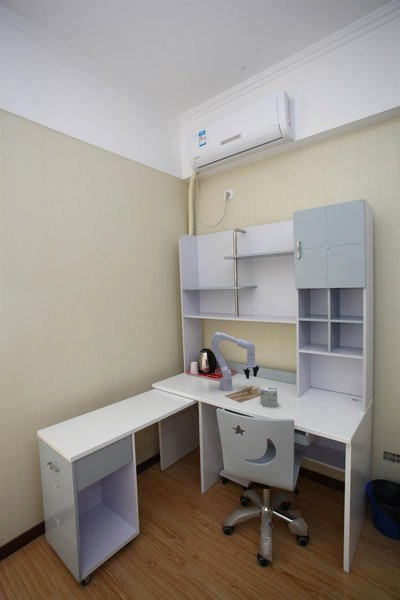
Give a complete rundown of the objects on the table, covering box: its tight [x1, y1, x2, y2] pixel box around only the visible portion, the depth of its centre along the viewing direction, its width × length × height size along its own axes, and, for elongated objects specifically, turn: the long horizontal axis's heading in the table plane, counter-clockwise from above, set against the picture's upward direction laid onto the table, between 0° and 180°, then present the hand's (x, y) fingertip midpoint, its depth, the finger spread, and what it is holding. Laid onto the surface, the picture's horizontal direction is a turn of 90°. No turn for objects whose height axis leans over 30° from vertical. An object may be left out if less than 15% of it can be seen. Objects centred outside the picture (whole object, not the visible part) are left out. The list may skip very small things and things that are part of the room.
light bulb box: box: [259, 386, 278, 408], centre depth 197 cm, size 11×7×11 cm, turn 74°
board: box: [224, 388, 260, 404], centre depth 212 cm, size 16×24×1 cm, turn 127°
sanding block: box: [245, 385, 258, 395], centre depth 216 cm, size 7×4×4 cm, turn 37°
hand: (251, 377), depth 222 cm, fingers open, 7 cm apart
